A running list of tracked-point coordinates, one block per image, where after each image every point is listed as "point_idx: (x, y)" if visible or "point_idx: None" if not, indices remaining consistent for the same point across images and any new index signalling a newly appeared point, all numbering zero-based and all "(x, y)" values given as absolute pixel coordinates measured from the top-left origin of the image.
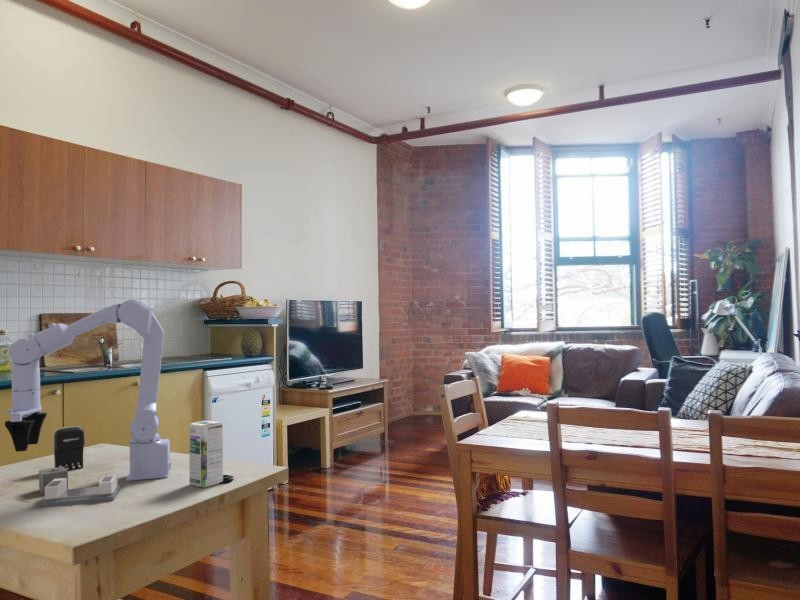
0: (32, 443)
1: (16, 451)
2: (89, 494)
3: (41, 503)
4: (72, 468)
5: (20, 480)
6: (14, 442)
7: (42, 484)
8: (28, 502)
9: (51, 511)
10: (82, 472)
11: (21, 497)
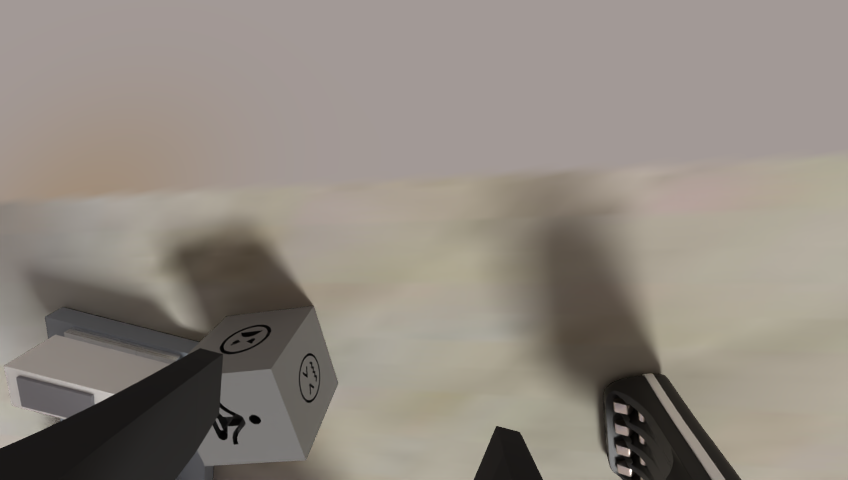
0: (481, 464)
1: (192, 352)
2: None
3: (45, 318)
4: (616, 442)
5: (606, 232)
6: (109, 404)
7: (203, 345)
8: (157, 270)
9: (17, 334)
10: (564, 456)
11: (248, 244)
